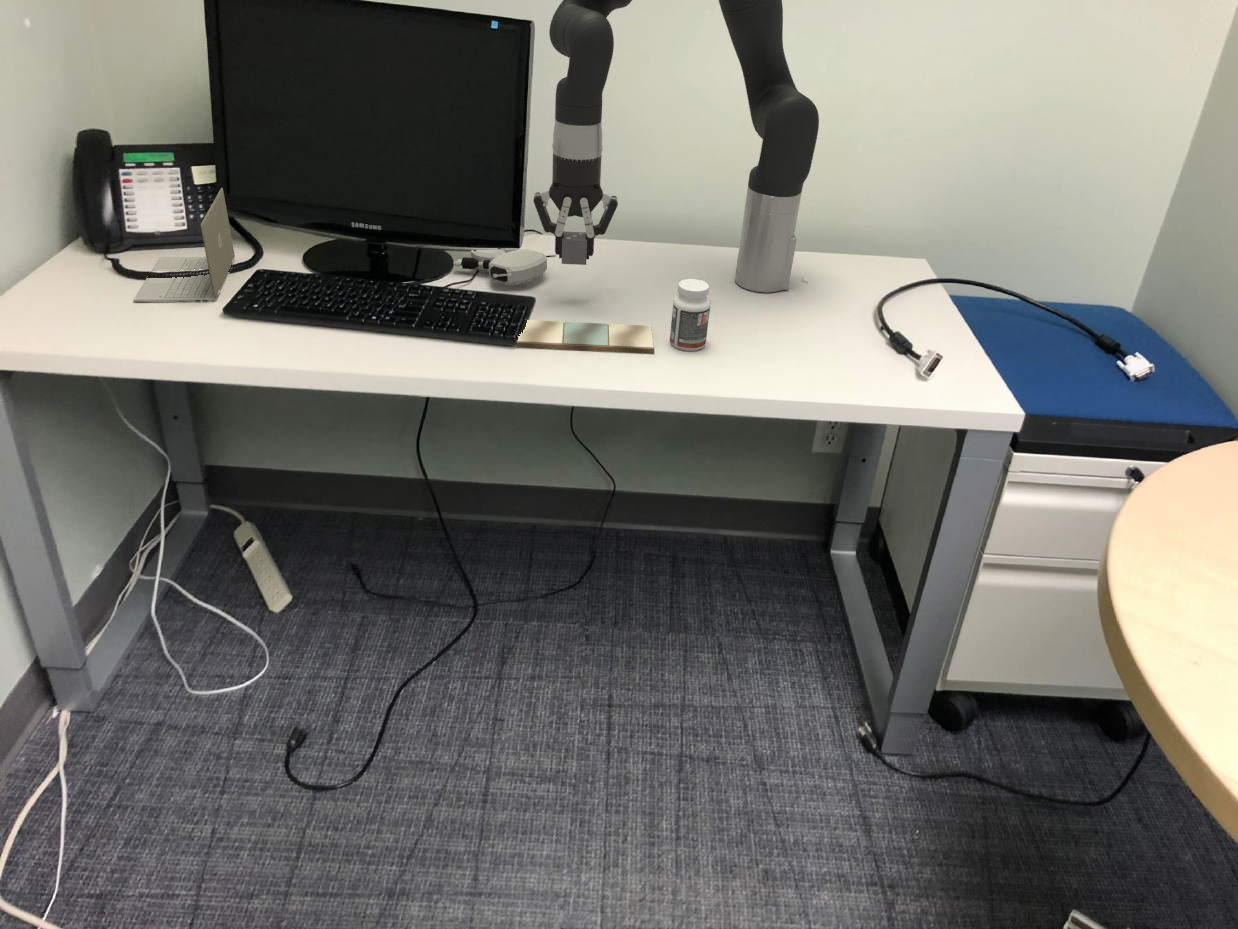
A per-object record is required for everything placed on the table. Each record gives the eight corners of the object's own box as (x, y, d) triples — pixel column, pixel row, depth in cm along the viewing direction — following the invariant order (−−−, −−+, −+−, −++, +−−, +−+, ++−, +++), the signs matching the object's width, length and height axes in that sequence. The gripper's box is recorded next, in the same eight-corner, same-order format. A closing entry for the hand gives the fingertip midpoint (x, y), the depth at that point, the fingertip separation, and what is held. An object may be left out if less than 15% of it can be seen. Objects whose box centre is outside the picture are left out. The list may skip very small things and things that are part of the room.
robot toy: (449, 278, 165) (514, 297, 158) (447, 253, 163) (512, 271, 155) (496, 260, 174) (559, 276, 166) (495, 236, 171) (559, 251, 164)
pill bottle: (712, 344, 148) (720, 285, 142) (690, 355, 144) (697, 295, 138) (684, 332, 151) (690, 274, 145) (661, 343, 147) (667, 283, 141)
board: (651, 330, 150) (651, 325, 150) (654, 353, 144) (654, 347, 143) (519, 324, 149) (519, 319, 148) (516, 347, 142) (516, 341, 142)
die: (586, 255, 155) (587, 232, 153) (586, 264, 152) (587, 240, 150) (562, 254, 155) (562, 230, 153) (561, 263, 152) (562, 239, 150)
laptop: (159, 261, 162) (143, 186, 154) (236, 260, 164) (223, 186, 157) (133, 304, 147) (113, 223, 140) (217, 303, 149) (202, 224, 142)
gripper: (622, 146, 147) (616, 250, 157) (532, 141, 147) (531, 246, 156) (624, 159, 141) (617, 267, 151) (529, 155, 140) (529, 264, 150)
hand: (573, 256), depth 153 cm, fingers closed on die, 3 cm apart
